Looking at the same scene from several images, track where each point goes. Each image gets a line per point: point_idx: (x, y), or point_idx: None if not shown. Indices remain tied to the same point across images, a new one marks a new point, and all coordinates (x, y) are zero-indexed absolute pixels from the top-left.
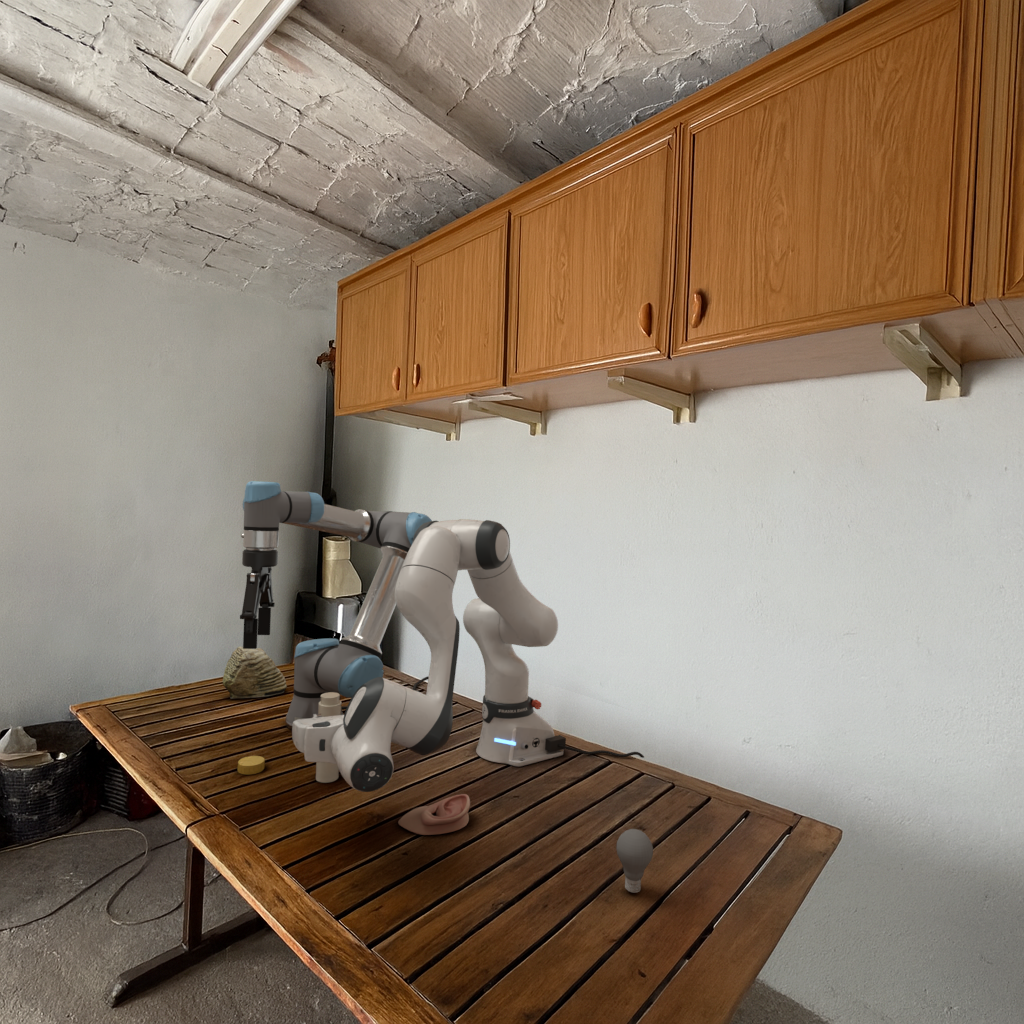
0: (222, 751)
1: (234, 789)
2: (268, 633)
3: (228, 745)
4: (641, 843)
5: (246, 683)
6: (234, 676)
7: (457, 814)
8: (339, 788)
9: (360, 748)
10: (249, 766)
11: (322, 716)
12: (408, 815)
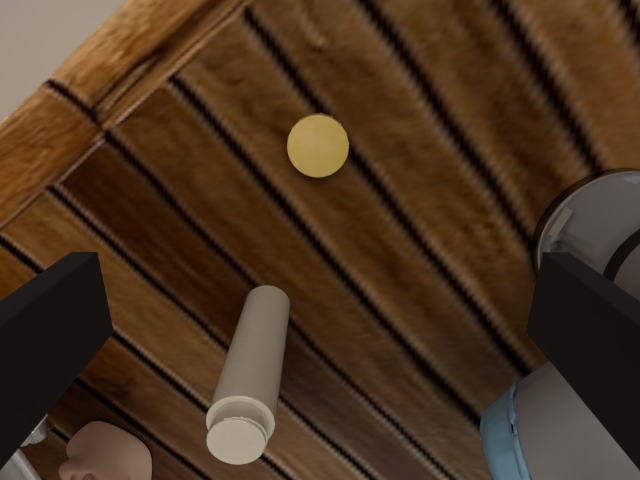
0: (442, 38)
1: (213, 132)
2: (534, 333)
3: (484, 43)
4: None
5: None
6: None
7: None
8: (221, 330)
9: None
10: (287, 149)
11: (217, 386)
12: (98, 440)
